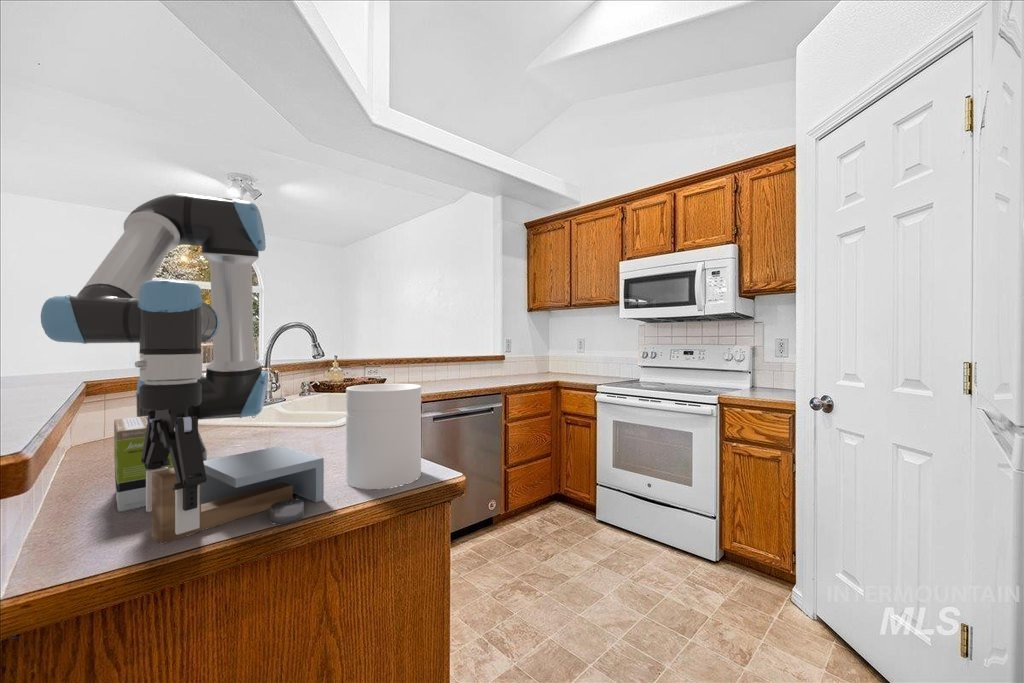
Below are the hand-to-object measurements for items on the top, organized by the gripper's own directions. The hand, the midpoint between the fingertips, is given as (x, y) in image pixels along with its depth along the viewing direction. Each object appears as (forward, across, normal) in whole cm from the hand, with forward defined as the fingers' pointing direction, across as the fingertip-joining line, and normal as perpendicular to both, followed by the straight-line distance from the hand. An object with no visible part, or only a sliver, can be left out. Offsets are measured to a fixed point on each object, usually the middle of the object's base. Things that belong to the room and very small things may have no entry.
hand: (171, 519), depth 66 cm
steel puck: (+3, +8, +14) cm, 16 cm away
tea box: (+3, -25, +4) cm, 25 cm away
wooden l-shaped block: (+3, 0, +8) cm, 9 cm away
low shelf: (+3, -3, +14) cm, 15 cm away
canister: (+3, +3, +38) cm, 38 cm away
